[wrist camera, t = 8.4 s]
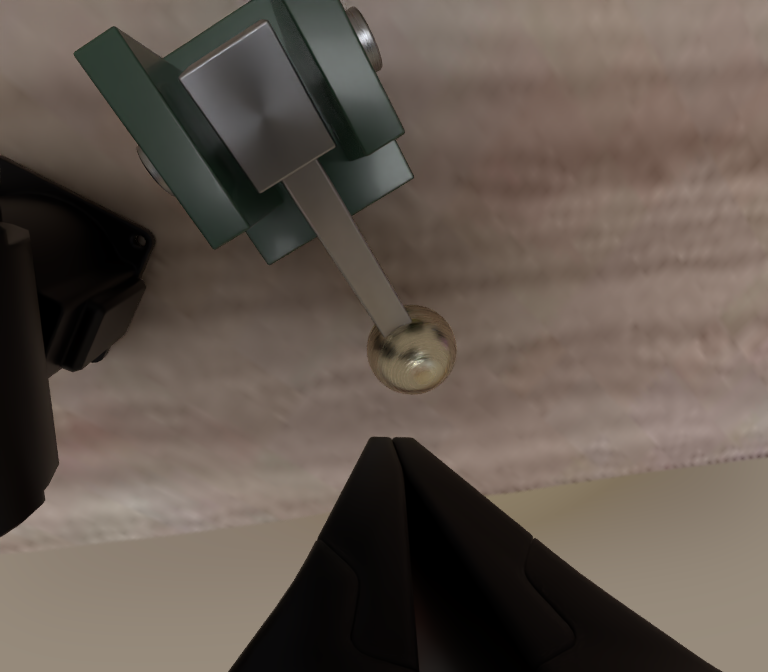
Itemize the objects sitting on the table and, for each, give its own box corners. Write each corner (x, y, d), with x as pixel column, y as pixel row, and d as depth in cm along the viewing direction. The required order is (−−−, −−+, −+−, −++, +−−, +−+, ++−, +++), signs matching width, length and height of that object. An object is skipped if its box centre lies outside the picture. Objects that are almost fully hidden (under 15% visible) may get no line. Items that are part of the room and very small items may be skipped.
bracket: (410, 177, 20) (481, 184, 11) (271, 260, 20) (224, 336, 11) (307, -23, 17) (283, -251, 8) (149, 80, 17) (-48, -19, 8)
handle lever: (450, 332, 19) (483, 383, 16) (381, 371, 19) (403, 427, 16) (279, 6, 11) (290, 4, 9) (172, 76, 12) (152, 93, 9)
